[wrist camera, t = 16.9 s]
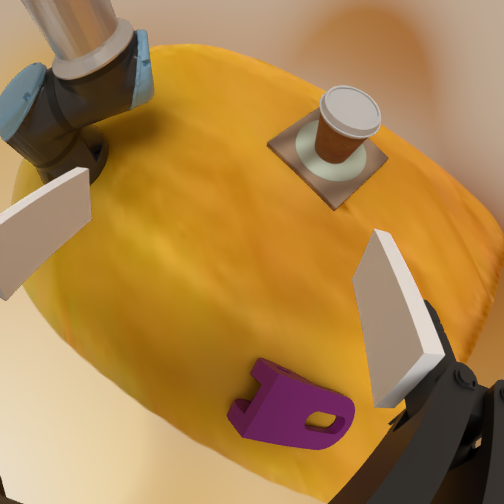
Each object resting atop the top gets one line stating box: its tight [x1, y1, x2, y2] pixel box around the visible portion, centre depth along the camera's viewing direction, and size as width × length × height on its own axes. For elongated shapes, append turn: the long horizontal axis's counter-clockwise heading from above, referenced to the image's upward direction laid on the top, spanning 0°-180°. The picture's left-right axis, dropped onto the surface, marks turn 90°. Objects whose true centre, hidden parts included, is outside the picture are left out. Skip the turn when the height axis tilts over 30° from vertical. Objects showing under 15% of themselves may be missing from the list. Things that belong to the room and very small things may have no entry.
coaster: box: [267, 107, 388, 211], centre depth 48 cm, size 16×16×1 cm
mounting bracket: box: [227, 358, 355, 450], centre depth 38 cm, size 9×8×18 cm
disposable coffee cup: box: [314, 86, 381, 164], centre depth 41 cm, size 10×10×12 cm
